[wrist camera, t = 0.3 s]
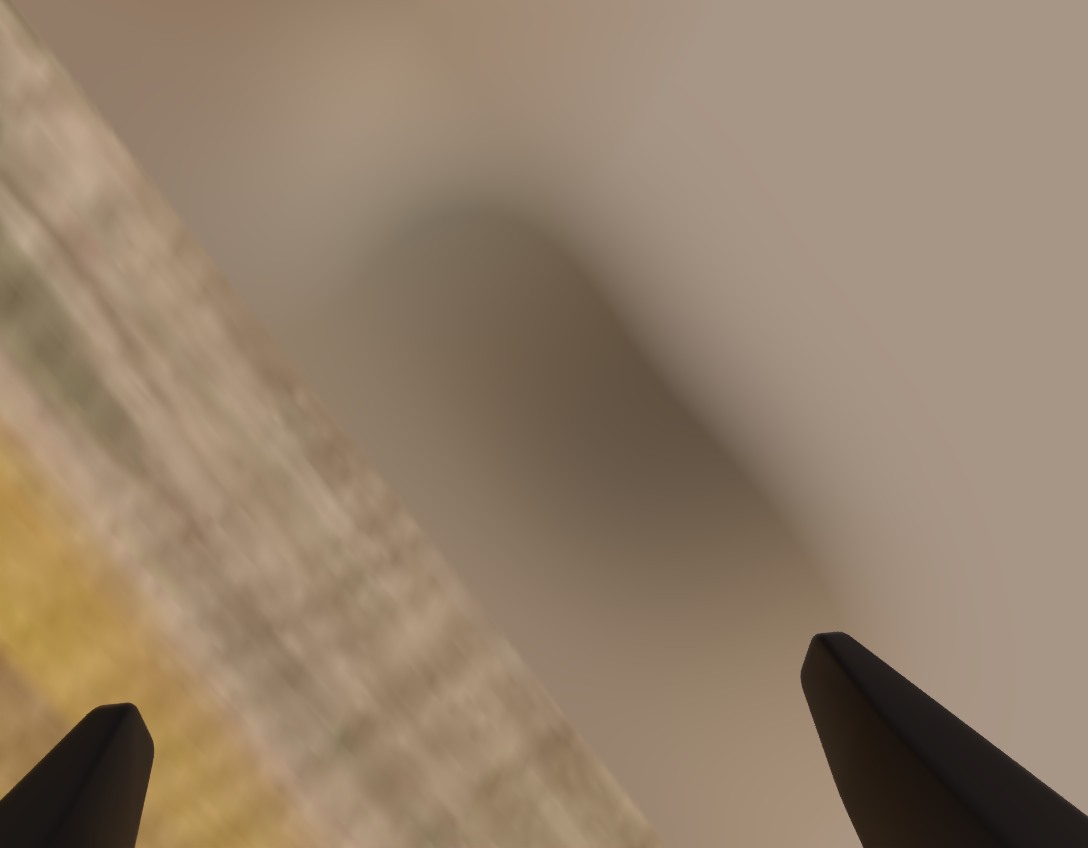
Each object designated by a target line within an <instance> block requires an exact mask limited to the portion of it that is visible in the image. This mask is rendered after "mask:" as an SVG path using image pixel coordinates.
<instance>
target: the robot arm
mask: <svg viewBox="0 0 1088 848" xmlns="http://www.w3.org/2000/svg"><path fill="white" fill-rule="evenodd" d="M801 684H802V688H803V691H804V694H805V697H806V700H807V703H808V706H809V709H810V712H811V714H812V717H813V720H814V723H815V726H816V729H817V732H818V734H819V738H820V741H821V743H822V746H823V749H824V752H825V755H826V758H827V761H828V764H829V767H830V770H831V772H832V775H833V778H834V781H835V783H836V786H837V789H838V791H839V794H840V797H841V799H842V801H843V804H844V806H845V808H846V810H847V813H848V815H849V817H850V819H851V821H852V824H853V826H854V828H855V830H856V832H857V835H858V837H859V839H860V841H861V843H862V846H863V848H1088V816H1087V815H1085V814H1084V813H1083V812H1081V811H1080V810H1079V809H1077V808H1076V807H1075V806H1074V805H1072V804H1071V803H1070V802H1068V801H1067V800H1065V799H1064V798H1063V797H1062V796H1060V795H1059V794H1058V793H1056V792H1055V791H1054V790H1052V789H1051V788H1050V787H1048V786H1047V785H1046V784H1044V783H1043V782H1041V780H1039V779H1038V778H1036V777H1035V776H1034V775H1033V774H1031V773H1030V772H1029V771H1027V770H1026V769H1025V768H1023V767H1022V766H1021V765H1019V764H1018V763H1017V762H1015V761H1014V760H1012V758H1010V757H1009V756H1008V755H1006V754H1005V753H1004V752H1002V751H1001V750H1000V749H998V748H997V747H996V746H994V745H993V744H992V743H990V742H989V741H988V740H986V739H985V738H984V737H983V736H981V735H980V734H979V733H977V732H976V731H975V730H973V729H972V728H971V727H969V726H968V725H967V724H965V723H964V722H963V721H961V720H960V719H959V718H957V717H956V716H955V715H954V714H952V713H951V712H949V711H948V710H947V709H945V708H944V707H943V706H942V705H940V704H939V703H938V702H936V701H935V700H934V699H932V698H931V697H930V696H928V695H927V694H926V693H924V692H923V691H922V690H921V689H919V688H918V687H917V686H915V685H914V684H913V683H911V682H910V681H909V680H907V679H906V678H905V677H903V676H902V675H901V674H899V673H898V672H897V671H895V670H894V669H893V668H892V667H890V666H889V665H888V664H886V663H885V662H883V661H882V660H881V659H880V658H878V657H877V656H876V655H874V654H873V653H872V652H870V651H869V650H868V649H866V648H865V647H864V646H862V645H861V644H860V643H858V642H857V641H856V640H854V639H853V638H852V637H850V636H849V635H847V634H845V633H843V632H830V633H820V634H816V635H815V636H814V637H813V638H812V640H811V643H810V646H809V648H808V651H807V654H806V657H805V660H804V663H803V667H802V669H801ZM153 758H154V744H153V740H152V737H151V735H150V733H149V731H148V729H147V727H146V725H145V723H144V721H143V719H142V717H141V715H140V712H139V710H138V709H137V707H136V706H135V705H133V704H132V703H119V704H109V705H102V706H99V707H97V708H95V709H93V710H92V711H90V712H89V713H88V714H87V715H86V716H85V717H84V718H83V719H82V720H81V721H80V722H79V723H78V724H77V725H76V726H75V727H74V728H73V729H72V730H71V731H70V732H69V733H68V734H67V735H66V736H65V737H64V738H63V739H62V740H61V741H60V742H59V743H58V744H57V745H56V746H55V747H54V748H53V749H52V750H51V751H50V752H49V753H48V754H47V755H46V756H45V757H44V758H43V759H42V760H41V761H40V762H39V763H38V764H37V765H36V766H35V767H34V768H33V769H32V770H31V771H30V772H29V773H28V774H27V775H26V776H25V777H24V778H23V779H22V780H21V781H20V782H19V783H18V784H17V785H16V786H15V787H14V788H13V789H12V790H11V791H10V792H9V793H8V794H7V795H6V796H5V797H4V798H2V799H1V800H0V848H135V843H136V839H137V834H138V829H139V825H140V820H141V815H142V811H143V806H144V801H145V797H146V792H147V787H148V782H149V778H150V773H151V768H152V764H153Z"/></svg>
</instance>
